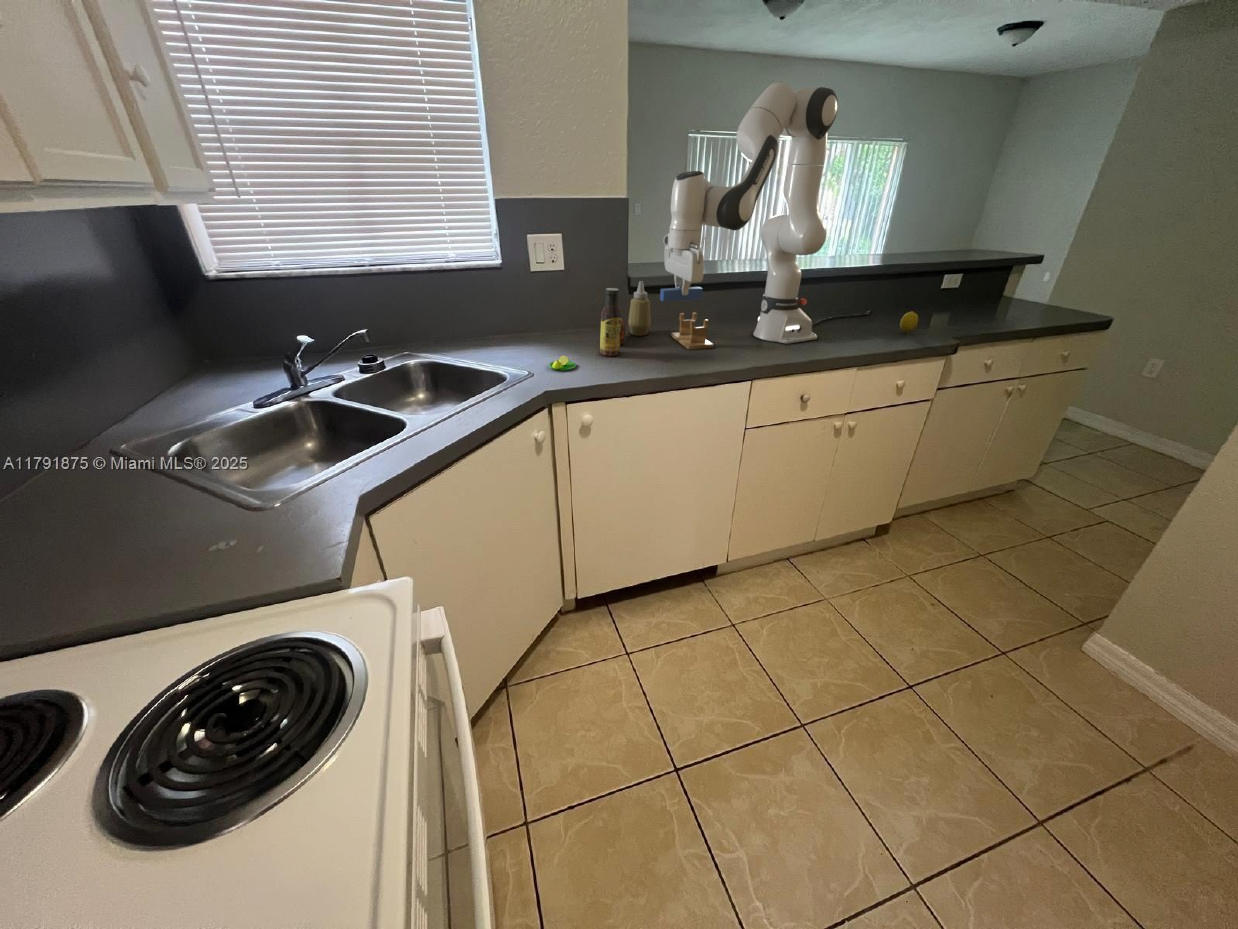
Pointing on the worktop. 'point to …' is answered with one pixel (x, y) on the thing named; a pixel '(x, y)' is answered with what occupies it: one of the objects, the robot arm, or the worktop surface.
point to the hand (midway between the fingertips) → (681, 293)
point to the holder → (692, 334)
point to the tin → (622, 332)
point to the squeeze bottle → (639, 312)
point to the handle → (676, 295)
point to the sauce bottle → (610, 324)
